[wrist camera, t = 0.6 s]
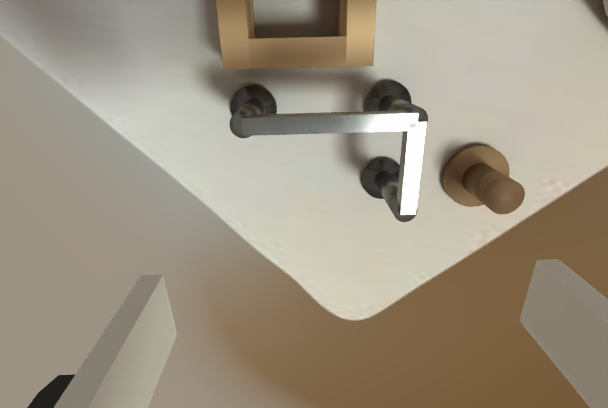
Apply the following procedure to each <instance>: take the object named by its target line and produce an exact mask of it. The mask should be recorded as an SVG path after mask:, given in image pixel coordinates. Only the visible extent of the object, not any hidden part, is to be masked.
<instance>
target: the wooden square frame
mask: <svg viewBox="0 0 608 408" xmlns="http://www.w3.org/2000/svg"><path fill="white" fill-rule="evenodd" d="M376 1H377V0H339V37H301V38H261V39H255V29H254V15H253V1H252V0H216V7H217V16H218V26H219V35H220V44H221V54H222V63H223V70H230V69H269V68H307V67H346V66H373V60H374V40H375V20H376Z"/></svg>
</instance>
